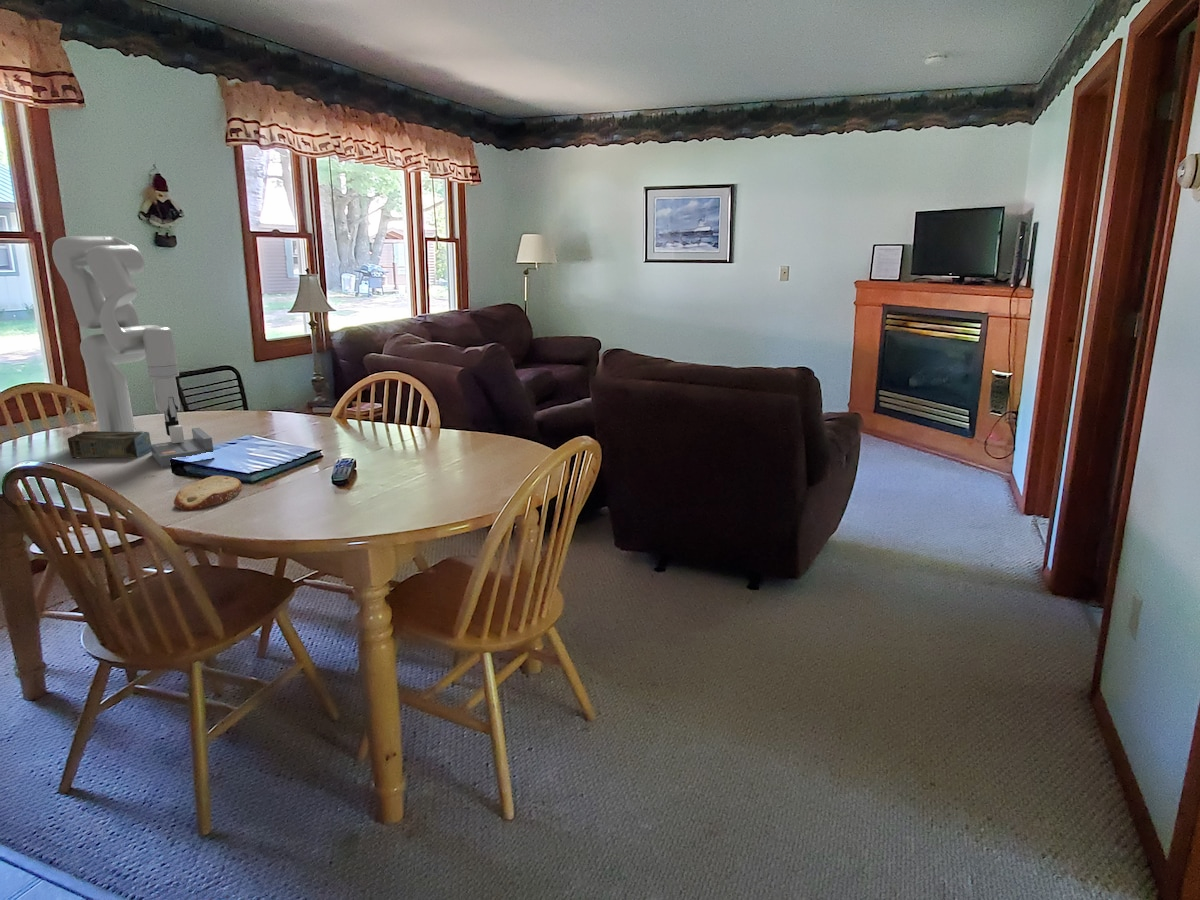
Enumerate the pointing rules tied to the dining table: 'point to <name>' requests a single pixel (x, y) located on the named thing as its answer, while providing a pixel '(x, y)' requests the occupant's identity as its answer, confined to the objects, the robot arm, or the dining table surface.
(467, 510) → the dining table surface
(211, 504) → the bread slice
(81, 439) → the beverage carton
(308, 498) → the dining table surface
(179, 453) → the grey slide switch panel
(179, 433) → the knob
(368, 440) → the dining table surface
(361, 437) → the dining table surface
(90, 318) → the robot arm
